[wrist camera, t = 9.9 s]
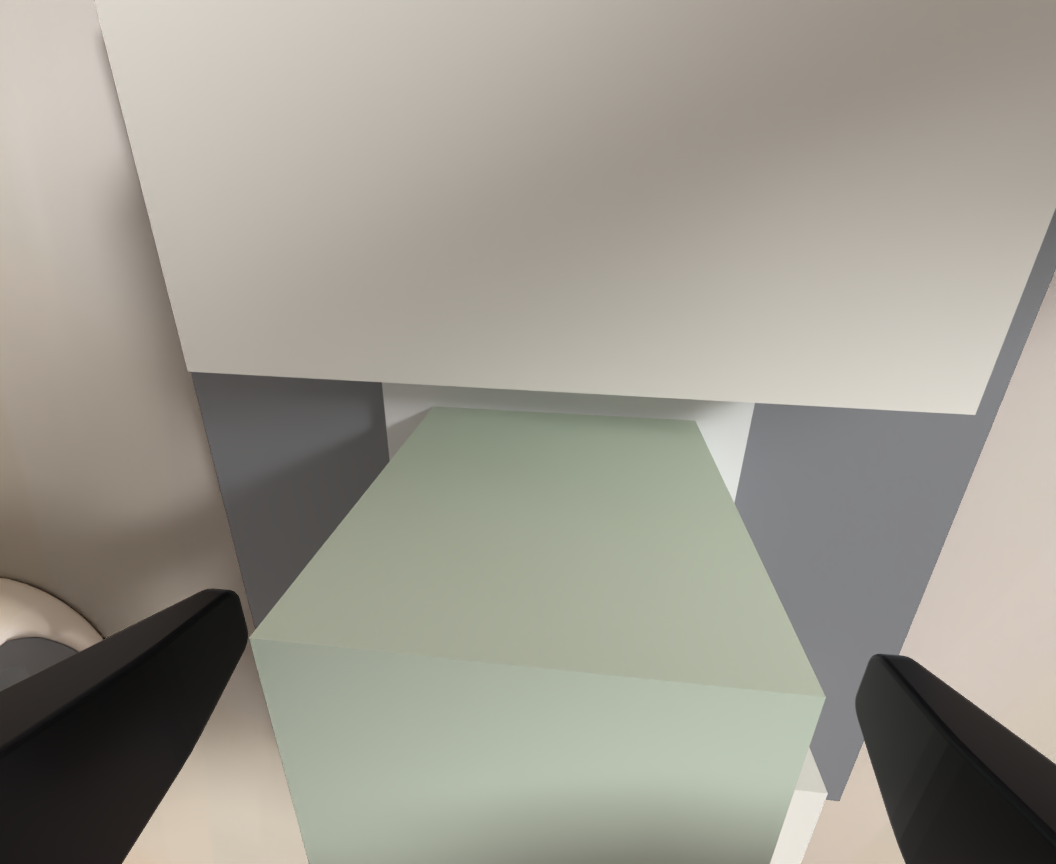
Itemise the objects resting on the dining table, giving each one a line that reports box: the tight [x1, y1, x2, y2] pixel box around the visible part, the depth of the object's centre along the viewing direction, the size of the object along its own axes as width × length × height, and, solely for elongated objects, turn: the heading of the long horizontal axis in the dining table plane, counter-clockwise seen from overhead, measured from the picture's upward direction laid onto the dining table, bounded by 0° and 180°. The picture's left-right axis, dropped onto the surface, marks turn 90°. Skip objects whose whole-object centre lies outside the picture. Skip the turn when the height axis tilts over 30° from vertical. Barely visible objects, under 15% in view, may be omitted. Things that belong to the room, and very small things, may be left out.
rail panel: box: [94, 0, 1056, 864], centre depth 10 cm, size 16×18×5 cm
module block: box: [249, 407, 826, 864], centre depth 8 cm, size 5×4×6 cm
